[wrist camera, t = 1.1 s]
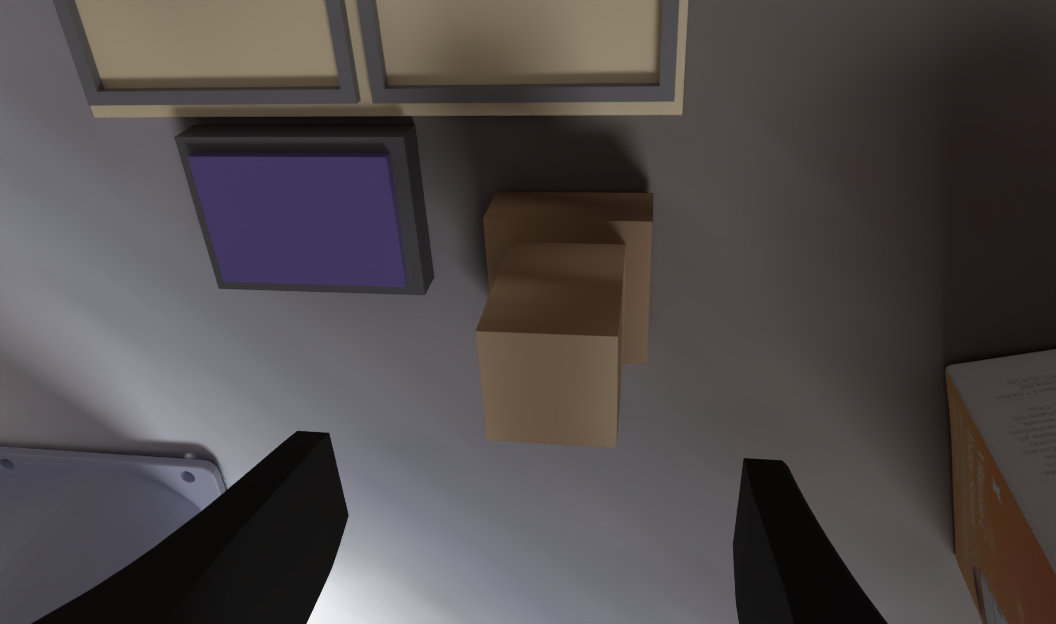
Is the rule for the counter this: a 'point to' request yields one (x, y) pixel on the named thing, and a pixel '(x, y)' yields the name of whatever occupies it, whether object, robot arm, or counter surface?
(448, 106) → the beige divided tray
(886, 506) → the counter surface
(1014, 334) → the counter surface
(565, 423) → the stamp
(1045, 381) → the small box
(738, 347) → the counter surface
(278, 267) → the ink pad
